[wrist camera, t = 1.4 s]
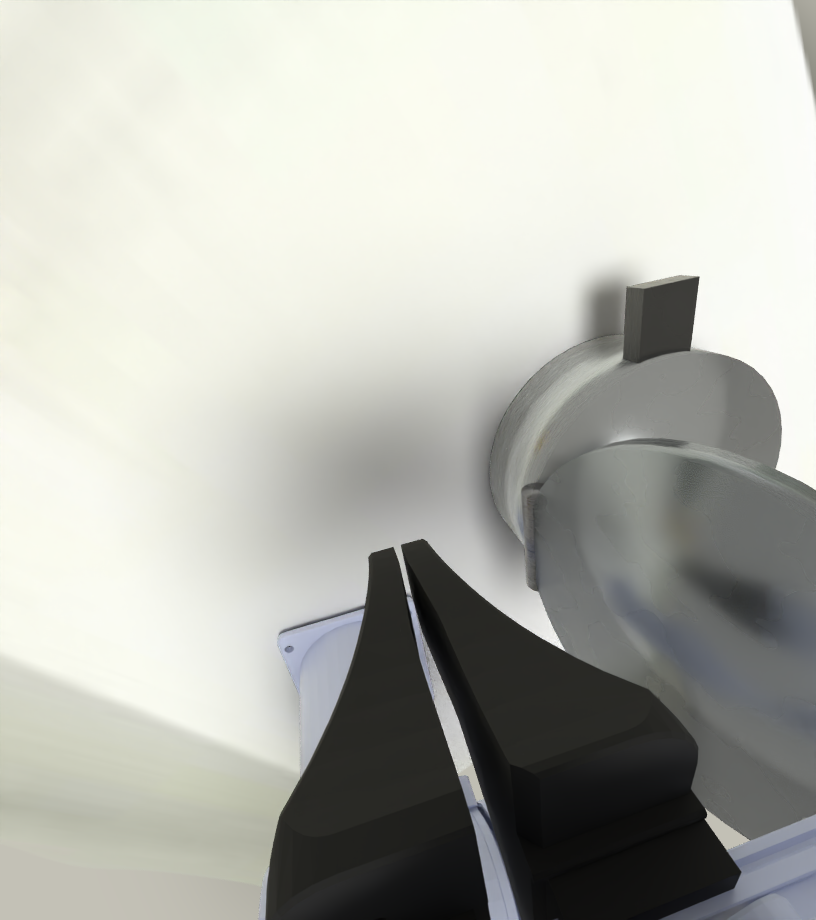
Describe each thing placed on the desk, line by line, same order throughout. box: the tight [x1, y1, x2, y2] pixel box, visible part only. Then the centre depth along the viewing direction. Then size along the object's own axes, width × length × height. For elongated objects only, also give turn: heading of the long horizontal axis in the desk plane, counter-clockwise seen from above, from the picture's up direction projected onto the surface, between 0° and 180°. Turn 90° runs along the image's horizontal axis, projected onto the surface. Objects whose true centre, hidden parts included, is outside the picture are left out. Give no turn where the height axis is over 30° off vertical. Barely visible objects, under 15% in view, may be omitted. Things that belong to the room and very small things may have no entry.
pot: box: [489, 275, 782, 545], centre depth 23 cm, size 19×13×5 cm
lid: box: [521, 438, 816, 840], centre depth 13 cm, size 13×17×1 cm
